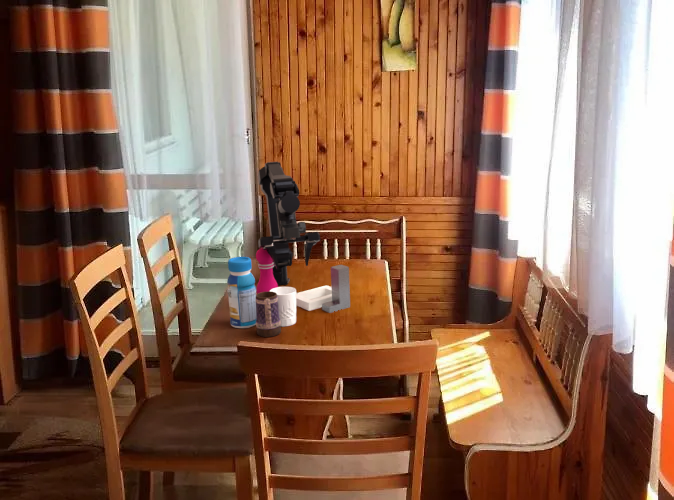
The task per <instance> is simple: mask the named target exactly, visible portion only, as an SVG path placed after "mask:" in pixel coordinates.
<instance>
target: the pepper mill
mask: <svg viewBox="0 0 674 500" xmlns="http://www.w3.org/2000/svg"><path fill="white" fill-rule="evenodd" d="M263 248H264V247H263ZM263 248H259V249H257V251H256V253H255V259H256V261H257V262H258V263H257V265H258V266H257V267H258V269H259V274H260V275H259V279H258V282H257V285H256V294H258V293H260V292H267V291H270V290H271V289H274V288H277V287H279V285H278V284H277V282H276V280H275V278H274V276H273V267H274V262H273V260H272V258H271V256H270V255H269V253H268V252H267V250H263Z"/></svg>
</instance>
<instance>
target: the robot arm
mask: <svg viewBox="0 0 674 500" xmlns="http://www.w3.org/2000/svg"><path fill="white" fill-rule="evenodd" d="M257 182H258V185H259V187H260V191H261V192H262V194H264V196H265V198H266V206H267V219H268V224H269V225H268V226H269V235H270V236H261V237H260V238H259V239H258V241H257V243H258V248H259V249H260V248H263V247H264V248H263V250H267V252H268V253H269V255H270V256H271V258H272V260H273V262H274V267H273V276H274V278H275V280H276V282H277V284H278V286H286V285H289V282H290V280H291V279H290V277H288V268H287V267H291V266H292V265H293V255H294V254H293V252H292V249H291V248H290V245H289V243H299V242H305V244H304V245H303V247H304V261H305V262H304V263H305V266H306V267H307V266H308V265H309V261H310V255H311V251H312V248H313V246H315V245H317V243H318V242H320V241H321V234H320V232H318V231H311V232H307V227H306V222H305V221H299V222H298V223H297V218H296V216H297V215H296V212H297V211H298V210H299V208H300V206H301V203H300V202H301V201H300V199H299V196H300V190H299V186H298V184H297V183H296V180H294V179H293V177H292V176H291V175H286V174H285V171H284V169H283V167H282V165H281V162H280V161H268V162H265V163H264V165H263V167H262V168H260V169H258V172H257ZM301 234H304V235H301Z"/></svg>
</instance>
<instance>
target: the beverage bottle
mask: <svg viewBox="0 0 674 500" xmlns="http://www.w3.org/2000/svg"><path fill="white" fill-rule="evenodd" d="M227 266H228V267H227V268H228V272H229V273H230V274H229V275H228V277H227V280H226V285H227V286H228V287H227V291H226V293H227V296H228V308H229V321H230V322H229V324H230V326H231V327H233V328H235V329H249V328H252V327H255V326H256V294H257V293H256V288H257V286H256V285H255V283H256V279H255V276H254V275H253V273H252V272H251V271H252V267H253V266H252V259H251V258H250V257H249V256H235V257H231V258H229V259H228V260H227Z"/></svg>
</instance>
